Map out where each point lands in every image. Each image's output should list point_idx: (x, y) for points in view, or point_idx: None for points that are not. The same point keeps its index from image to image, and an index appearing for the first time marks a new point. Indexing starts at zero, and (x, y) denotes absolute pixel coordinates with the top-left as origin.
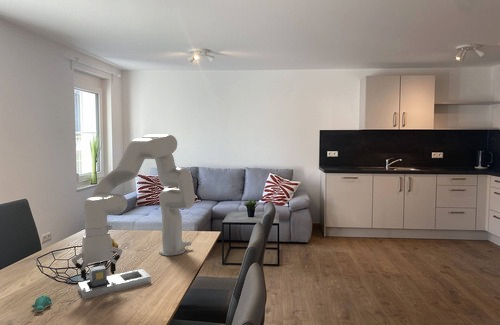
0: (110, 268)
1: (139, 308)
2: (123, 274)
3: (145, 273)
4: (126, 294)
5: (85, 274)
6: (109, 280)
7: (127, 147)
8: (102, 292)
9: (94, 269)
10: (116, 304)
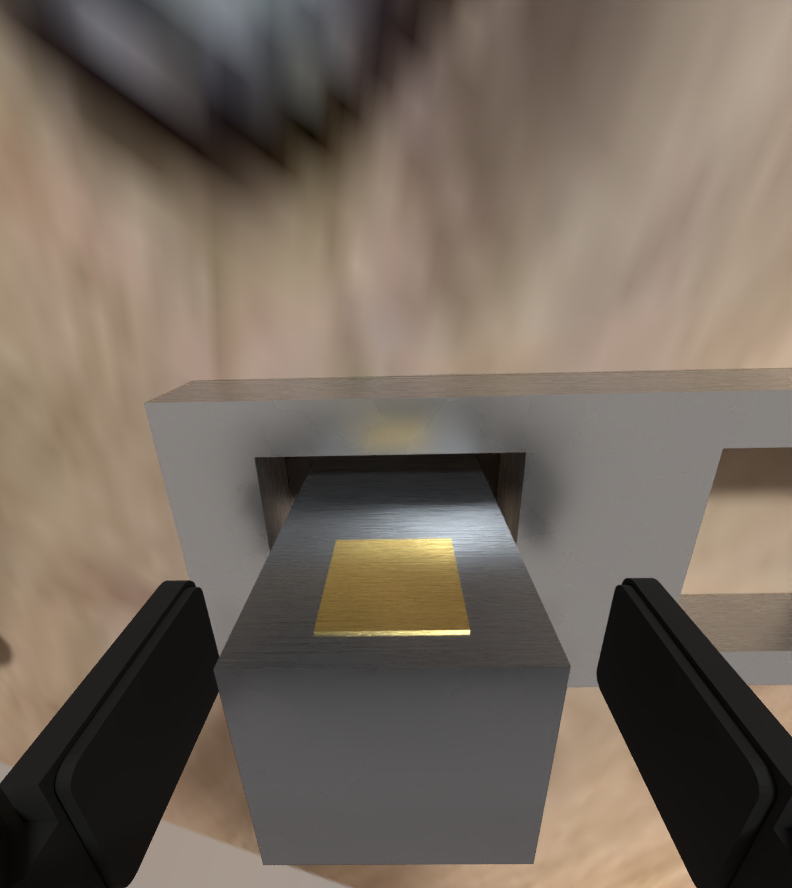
0: (653, 637)
1: (551, 874)
2: (775, 446)
3: None
4: (570, 711)
5: (163, 794)
6: (533, 555)
7: None
8: None
9: (322, 777)
10: None
